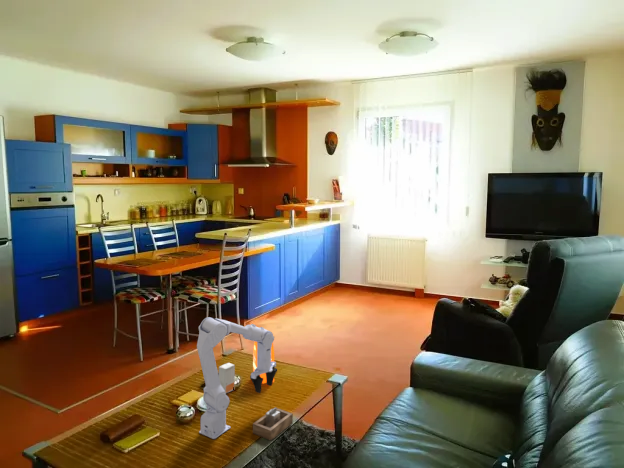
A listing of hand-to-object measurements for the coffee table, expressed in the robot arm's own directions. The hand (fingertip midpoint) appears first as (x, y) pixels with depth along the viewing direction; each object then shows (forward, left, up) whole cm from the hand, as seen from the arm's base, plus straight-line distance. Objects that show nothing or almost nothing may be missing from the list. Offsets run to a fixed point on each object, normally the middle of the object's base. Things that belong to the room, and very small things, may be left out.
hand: (263, 388), depth 195 cm
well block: (-9, -12, -9) cm, 17 cm away
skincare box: (+4, +24, -10) cm, 26 cm away
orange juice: (+22, +17, -10) cm, 29 cm away
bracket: (-9, -11, -9) cm, 17 cm away
